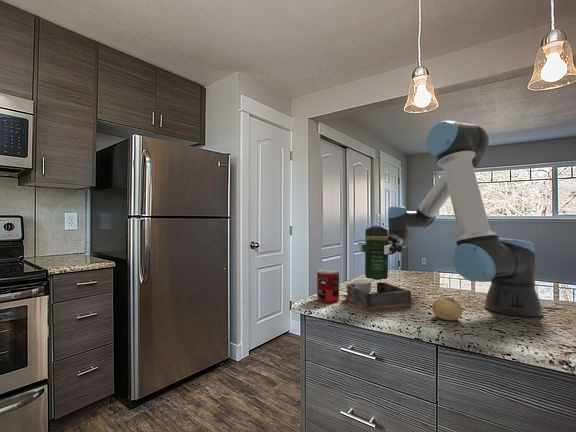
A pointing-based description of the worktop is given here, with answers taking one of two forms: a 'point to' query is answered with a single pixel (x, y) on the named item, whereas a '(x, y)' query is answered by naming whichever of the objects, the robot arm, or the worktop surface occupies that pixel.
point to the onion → (447, 308)
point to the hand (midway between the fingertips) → (372, 249)
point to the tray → (380, 297)
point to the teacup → (361, 284)
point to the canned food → (328, 285)
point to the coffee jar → (376, 253)
